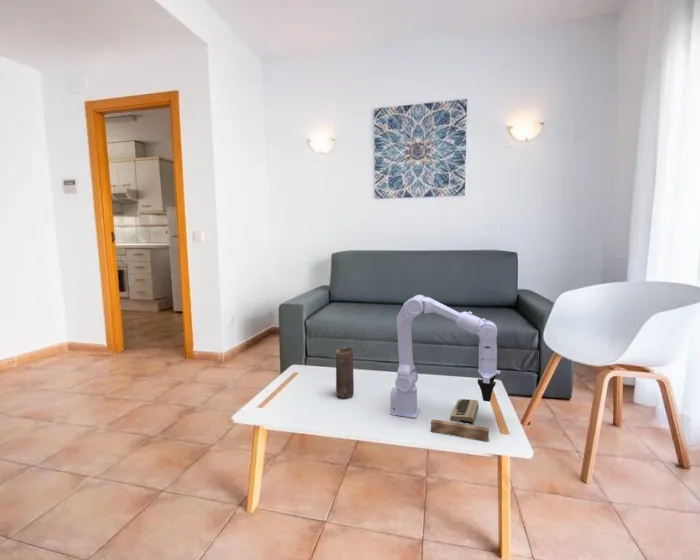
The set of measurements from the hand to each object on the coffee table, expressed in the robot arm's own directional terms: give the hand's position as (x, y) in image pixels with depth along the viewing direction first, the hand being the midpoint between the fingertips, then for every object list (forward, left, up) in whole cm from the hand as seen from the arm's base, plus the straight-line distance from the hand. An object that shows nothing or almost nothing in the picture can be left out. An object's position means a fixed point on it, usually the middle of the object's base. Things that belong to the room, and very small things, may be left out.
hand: (487, 396), depth 127 cm
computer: (-8, +6, -11) cm, 15 cm away
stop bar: (-8, -10, -10) cm, 16 cm away
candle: (-56, +6, -10) cm, 57 cm away
